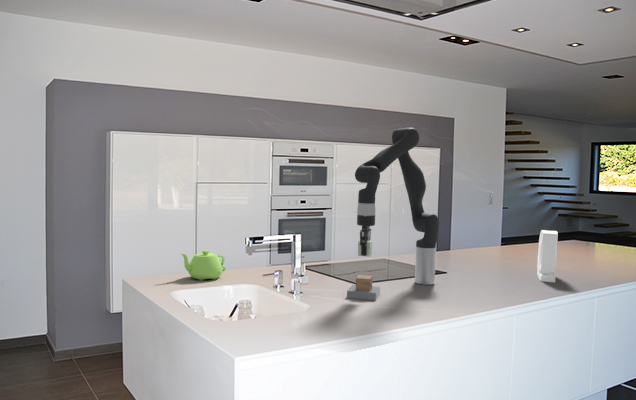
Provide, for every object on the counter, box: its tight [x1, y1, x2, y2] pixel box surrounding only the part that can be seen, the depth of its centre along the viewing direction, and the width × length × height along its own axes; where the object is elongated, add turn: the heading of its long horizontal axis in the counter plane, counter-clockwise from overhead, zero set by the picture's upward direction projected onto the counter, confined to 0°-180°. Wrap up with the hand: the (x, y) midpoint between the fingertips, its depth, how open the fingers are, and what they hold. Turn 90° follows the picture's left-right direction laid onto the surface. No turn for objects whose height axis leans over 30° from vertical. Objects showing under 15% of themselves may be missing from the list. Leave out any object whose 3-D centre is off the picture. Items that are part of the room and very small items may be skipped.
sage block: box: [357, 240, 373, 258], centre depth 220 cm, size 5×5×6 cm
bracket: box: [536, 229, 559, 283], centre depth 268 cm, size 7×21×25 cm, turn 162°
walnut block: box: [355, 274, 373, 291], centre depth 220 cm, size 6×6×5 cm
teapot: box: [180, 249, 226, 281], centre depth 247 cm, size 22×15×13 cm
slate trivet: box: [346, 284, 381, 301], centre depth 221 cm, size 12×12×3 cm
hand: (364, 254), depth 220 cm, fingers closed on sage block, 5 cm apart
